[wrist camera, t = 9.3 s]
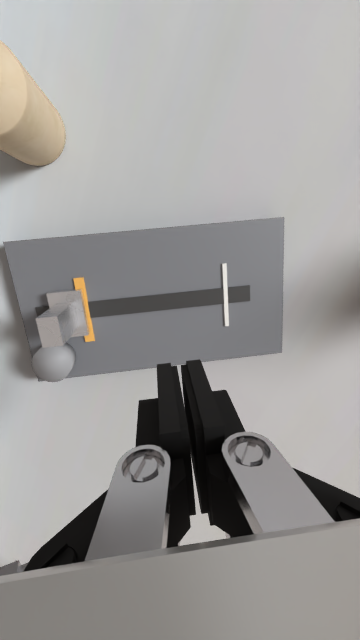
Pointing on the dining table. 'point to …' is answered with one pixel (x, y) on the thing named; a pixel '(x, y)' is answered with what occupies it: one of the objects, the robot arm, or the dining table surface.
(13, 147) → the candle
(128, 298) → the console
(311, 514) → the robot arm
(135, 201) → the dining table surface
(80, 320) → the fader
